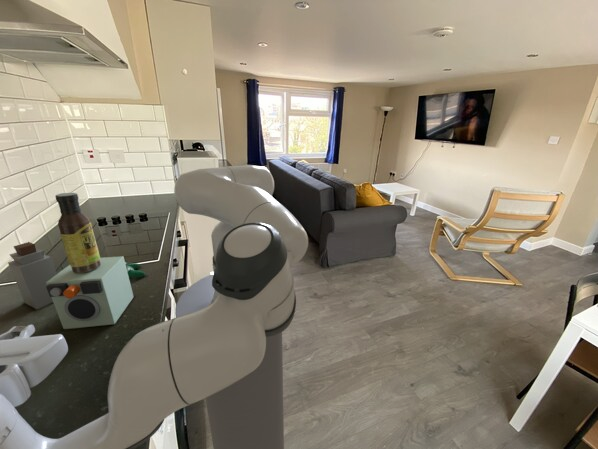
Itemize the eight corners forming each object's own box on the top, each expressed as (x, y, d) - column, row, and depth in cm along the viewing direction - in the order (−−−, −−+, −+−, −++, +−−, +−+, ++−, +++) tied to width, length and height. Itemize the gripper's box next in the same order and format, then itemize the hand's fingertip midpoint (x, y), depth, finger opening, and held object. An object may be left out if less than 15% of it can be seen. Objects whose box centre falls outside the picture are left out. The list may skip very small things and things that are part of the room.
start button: (76, 297, 62) (73, 289, 61) (64, 298, 62) (61, 290, 61) (81, 293, 64) (78, 284, 63) (70, 293, 63) (67, 285, 63)
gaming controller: (133, 273, 96) (117, 266, 92) (140, 264, 97) (124, 257, 93) (140, 283, 90) (123, 277, 86) (147, 273, 91) (130, 267, 87)
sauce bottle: (97, 272, 67) (75, 196, 60) (67, 276, 65) (41, 198, 58) (106, 261, 72) (86, 190, 66) (79, 264, 71) (56, 192, 64)
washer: (111, 328, 67) (97, 282, 63) (59, 334, 66) (40, 286, 61) (133, 296, 80) (123, 256, 75) (90, 300, 78) (76, 259, 73)
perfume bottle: (64, 296, 80) (45, 242, 74) (36, 309, 74) (13, 252, 68) (53, 290, 83) (33, 238, 76) (25, 303, 77) (1, 247, 71)
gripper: (-132, 425, 36) (-33, 347, 49) (36, 401, 40) (88, 334, 52) (-159, 392, 34) (-48, 320, 47) (21, 371, 37) (80, 309, 50)
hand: (25, 328), depth 50 cm, fingers closed
